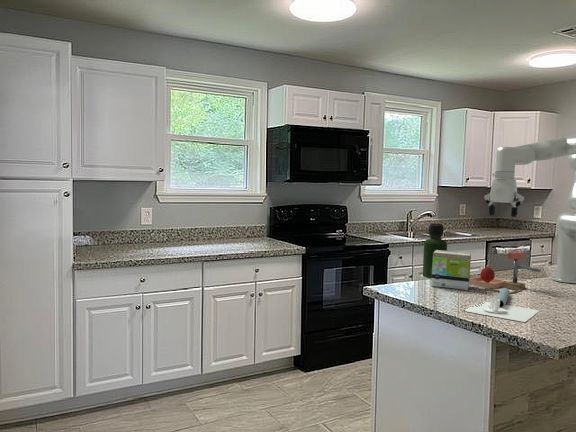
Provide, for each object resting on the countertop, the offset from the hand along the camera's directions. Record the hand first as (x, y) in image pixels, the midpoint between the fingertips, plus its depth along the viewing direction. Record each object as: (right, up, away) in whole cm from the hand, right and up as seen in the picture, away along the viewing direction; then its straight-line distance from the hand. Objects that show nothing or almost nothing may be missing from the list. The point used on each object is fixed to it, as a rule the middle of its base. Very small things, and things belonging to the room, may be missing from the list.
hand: (502, 216), depth 214 cm
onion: (-5, -30, +3) cm, 30 cm away
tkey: (+6, -29, -7) cm, 30 cm away
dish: (-6, -30, +3) cm, 31 cm away
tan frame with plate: (0, -31, -5) cm, 31 cm away
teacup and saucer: (-18, -33, -41) cm, 55 cm away
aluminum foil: (-13, -33, -26) cm, 44 cm away
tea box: (-23, -30, -2) cm, 38 cm away
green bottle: (-24, -29, +18) cm, 42 cm away
